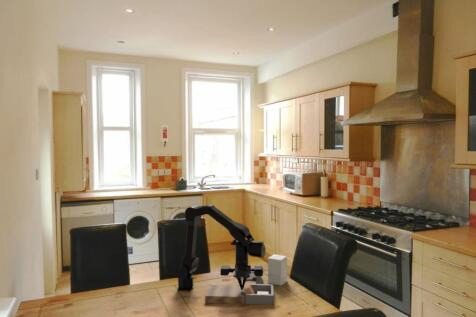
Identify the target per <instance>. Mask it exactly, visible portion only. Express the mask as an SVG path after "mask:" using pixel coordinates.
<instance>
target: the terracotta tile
mask: <svg viewBox="0 0 476 317" xmlns="http://www.w3.org/2000/svg"><path fill="white" fill-rule="evenodd" d="M247 284H248V285H247ZM247 284H246V285H244V286H245V288H244V291H245V293H246V294H256V293H255V292H254V290H253V289H252V287H251V285H250V284H251V283H247Z"/></svg>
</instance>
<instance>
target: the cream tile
mask: <svg viewBox="0 0 476 317" xmlns="http://www.w3.org/2000/svg"><path fill="white" fill-rule="evenodd" d="M256 294H269V292H263V291H257V293H256Z"/></svg>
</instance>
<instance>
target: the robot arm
mask: <svg viewBox="0 0 476 317" xmlns="http://www.w3.org/2000/svg"><path fill="white" fill-rule="evenodd" d="M204 215H208V216H209V217H211V218H212V219H213V220H215V221H216V222H217V223H218V224H220V226H222V227H224V228H225V229H226V230H227V231H228V232H229V234H230V236H231V237H232V238H233V240H232V242H231V243H230V245H231V246H235V251H234V252H235V253H234V254H235V257H234V258H235V259H234V260H235V264H234V267H231V265H226V264H225V265H223V264H222V265H221V268H220V269H219V270H220V271H219V272H220V274H219V275H220V276H221V277H222V276H225V277H226V276H227V277H228V276H229V275H230V273H232V274H233V278H235V279H236V280H237V282H238V286H240V288H241V290H243V288H244V286H246V285H245V284H246V282H247V281H246V280H247V278H250V274H251V273H254V275H255V276H261V277H264V267H263V266H262V265H254V266H253V268H252V265H251V264H249V256H250V257H253V258H262V259H264V258H265V256H266V246H265V243H264V241H263V240H262V241H261V240H260V241H257V240H255V238H254V236H253V235H252V233H251V232H250V228H249V227H248V226H247V225H245V224H243V223H240V222H237V221H235V220H233V219H232V218H230V217H229V216H228V215H226V214H225V213H224V212H223V211H221V210H220V209H218V208H217V207H216V206H215V205H214V204H211V203H210V204H207V205H201V206H200V205H198V204H197V205H196V204H195V205H192V206H189V207H187V208H186V209H185V210H184V217H185V218H184V219H185V222H186V226H187V227H186V237H185V239H186V240H185V250H184V256H183V258H182V259H181V262H180V267H179V269H178V270H177V271H176V272H175V278H176V279H177V280H178V282H177V283H178V284H177V285H178V287H177V291H189V292H190V291H192V289H193V288H194V285H195V284H194V282H195V281H194V276H193V274H194V273H195V271H196V270H197V269H198V267H199V266H200V264H199V262H200V261H199V260H200V257H197V255H196V246H197V235H198V226H199V224H200V221H201V219H202V216H204ZM241 277H243V279H242V278H241Z"/></svg>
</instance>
